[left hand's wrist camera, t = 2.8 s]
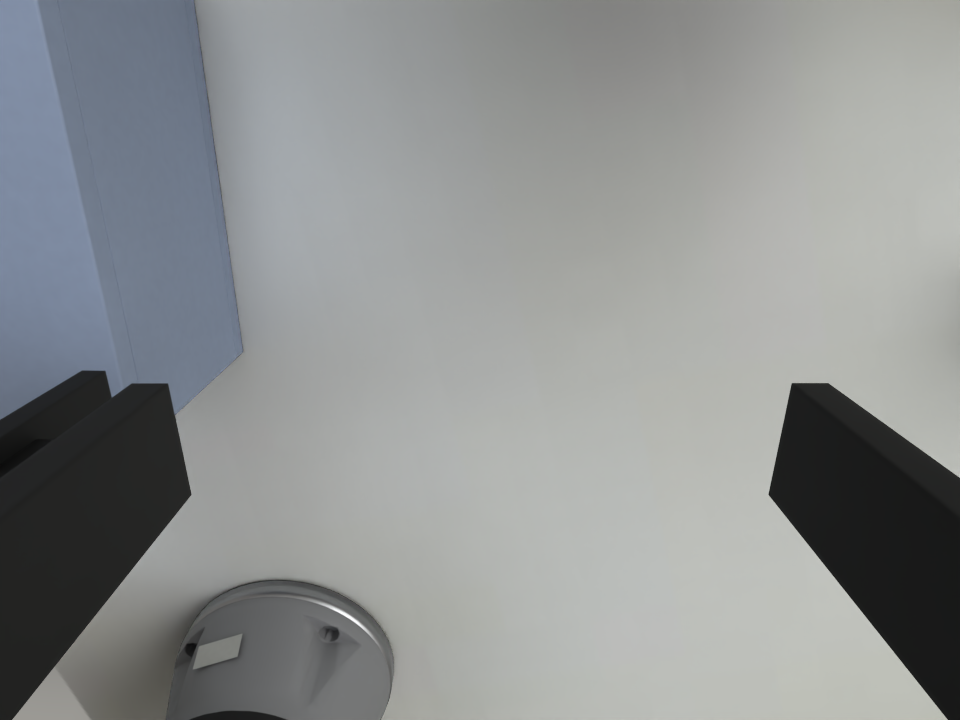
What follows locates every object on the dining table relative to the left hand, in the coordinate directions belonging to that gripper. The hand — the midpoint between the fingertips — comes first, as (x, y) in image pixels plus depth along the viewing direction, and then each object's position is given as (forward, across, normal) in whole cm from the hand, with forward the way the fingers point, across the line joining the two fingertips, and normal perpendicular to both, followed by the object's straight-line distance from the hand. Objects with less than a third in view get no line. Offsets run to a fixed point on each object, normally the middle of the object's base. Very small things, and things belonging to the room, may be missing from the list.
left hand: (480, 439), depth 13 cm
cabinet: (+22, -19, +3) cm, 29 cm away
